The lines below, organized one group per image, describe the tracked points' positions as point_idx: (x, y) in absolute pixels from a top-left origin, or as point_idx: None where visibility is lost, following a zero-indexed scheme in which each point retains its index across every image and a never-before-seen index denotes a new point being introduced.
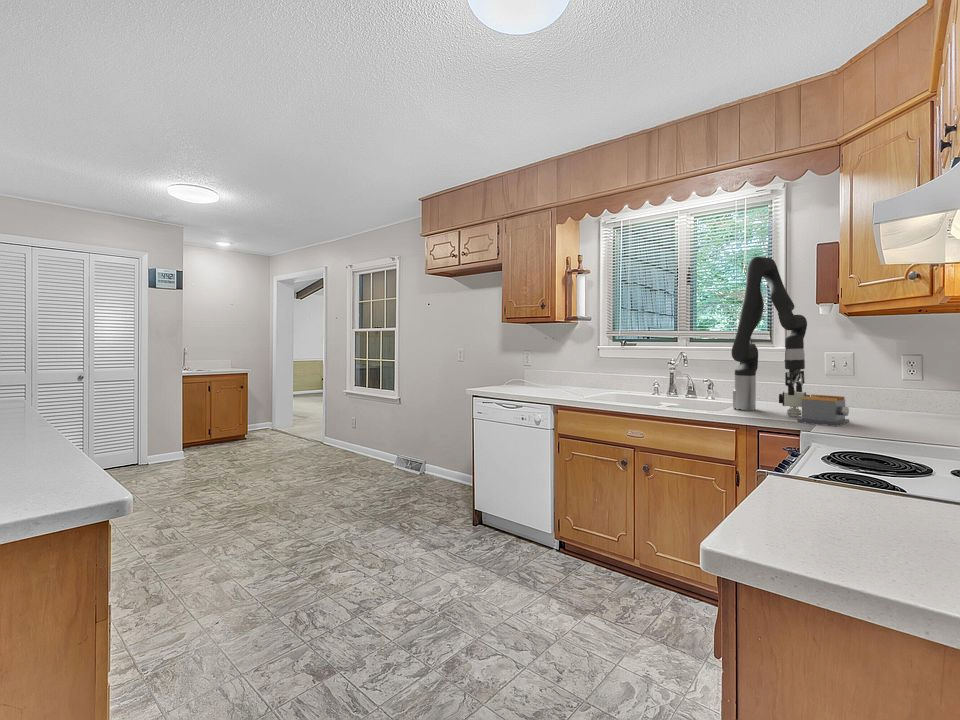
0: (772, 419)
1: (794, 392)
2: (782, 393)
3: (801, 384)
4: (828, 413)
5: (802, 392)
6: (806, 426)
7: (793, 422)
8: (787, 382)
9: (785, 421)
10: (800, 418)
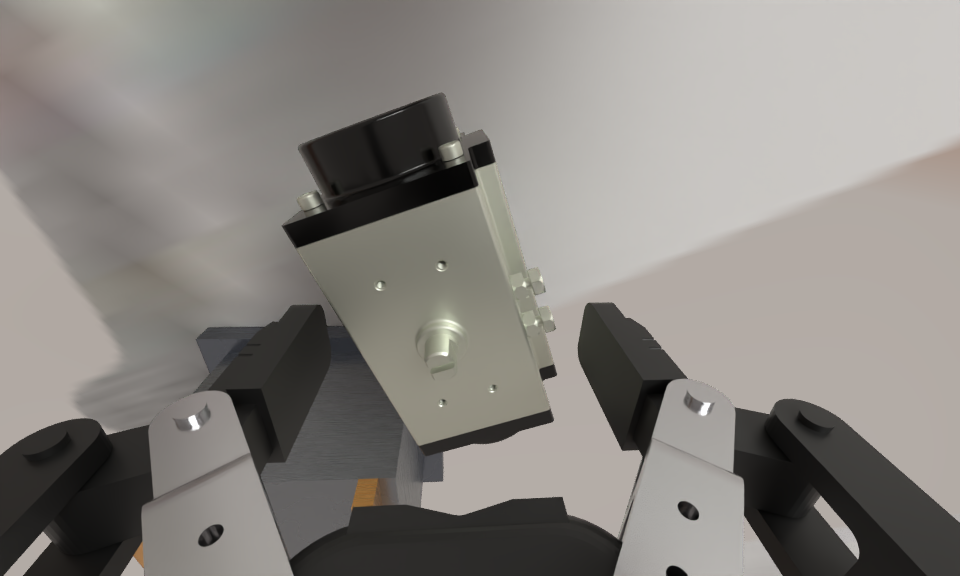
0: (125, 165)
1: (418, 351)
2: (445, 152)
3: (639, 470)
4: None
5: (496, 407)
6: (107, 407)
7: (161, 319)
8: (50, 512)
9: (143, 271)
10: (239, 342)
